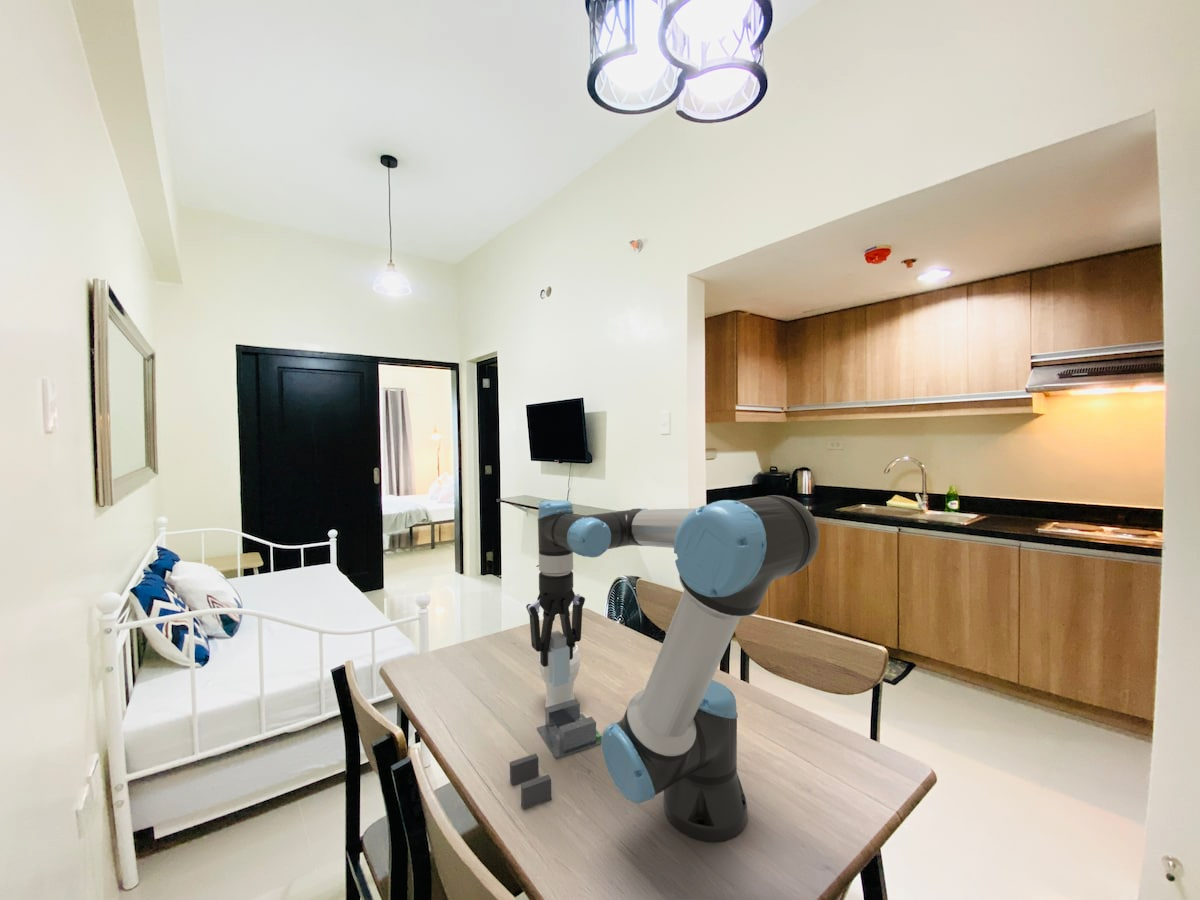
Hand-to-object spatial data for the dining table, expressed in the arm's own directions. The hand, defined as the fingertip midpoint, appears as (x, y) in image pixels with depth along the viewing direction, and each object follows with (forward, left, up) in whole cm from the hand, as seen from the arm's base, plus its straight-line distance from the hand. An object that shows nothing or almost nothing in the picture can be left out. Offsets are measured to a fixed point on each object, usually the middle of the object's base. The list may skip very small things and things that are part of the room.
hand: (557, 676), depth 106 cm
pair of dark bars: (-8, +9, -17) cm, 21 cm away
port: (+4, -5, -17) cm, 18 cm away
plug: (0, 0, -1) cm, 1 cm away
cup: (+17, -8, -17) cm, 25 cm away
